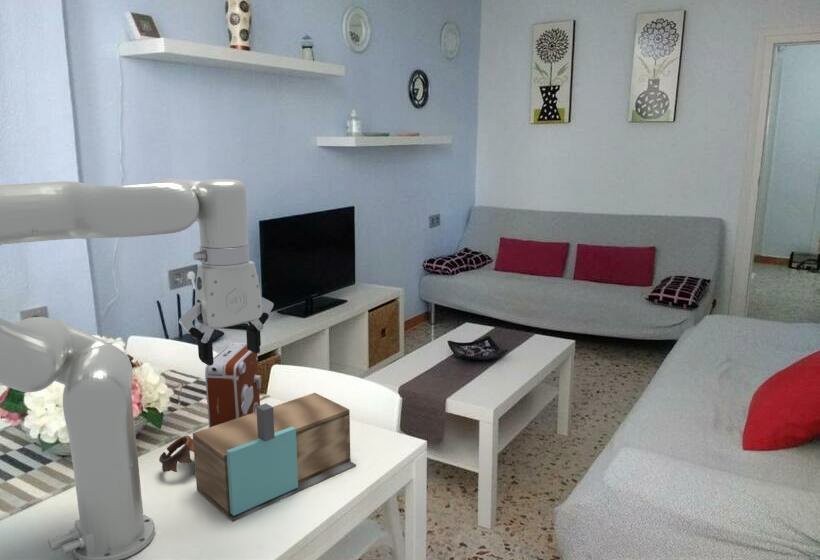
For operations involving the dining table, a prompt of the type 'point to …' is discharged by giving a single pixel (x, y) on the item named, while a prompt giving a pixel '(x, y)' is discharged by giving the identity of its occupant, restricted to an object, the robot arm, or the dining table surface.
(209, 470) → the cabinet
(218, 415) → the cine camera
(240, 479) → the door
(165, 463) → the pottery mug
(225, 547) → the dining table surface
